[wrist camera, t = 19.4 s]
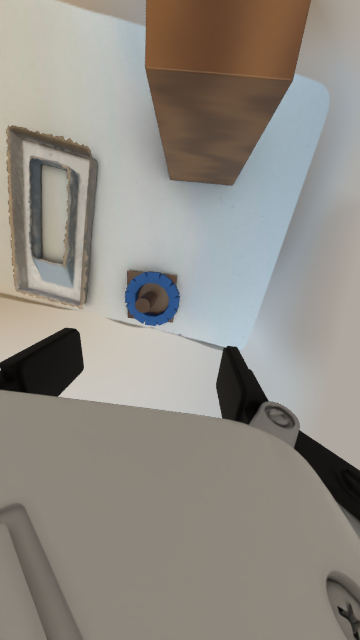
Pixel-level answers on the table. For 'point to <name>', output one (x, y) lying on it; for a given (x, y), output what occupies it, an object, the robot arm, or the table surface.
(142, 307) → the post
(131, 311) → the ring
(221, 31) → the stand
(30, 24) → the table surface
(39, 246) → the picture frame
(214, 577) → the robot arm
